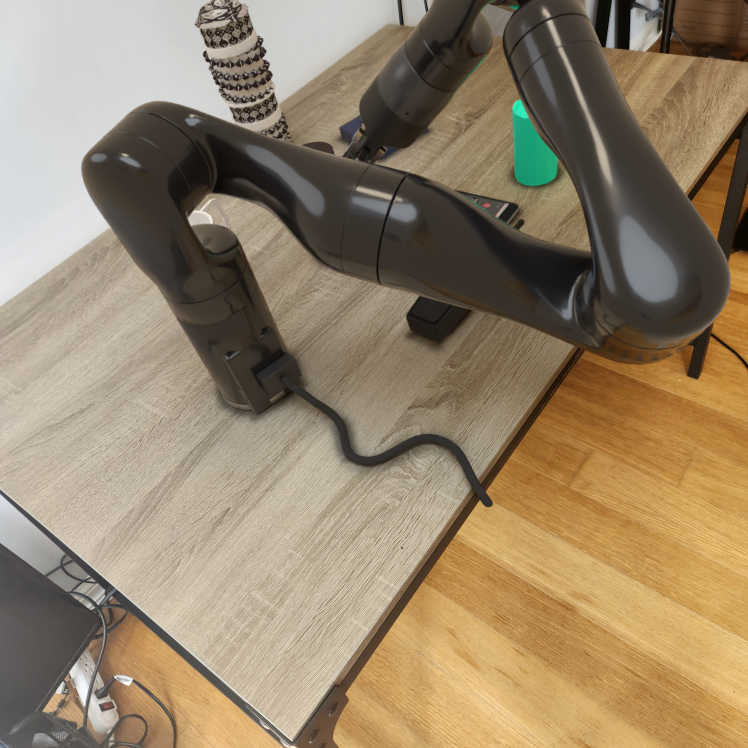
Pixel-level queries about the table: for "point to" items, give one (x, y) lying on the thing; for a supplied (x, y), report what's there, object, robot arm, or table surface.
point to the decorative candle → (241, 67)
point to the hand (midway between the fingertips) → (338, 180)
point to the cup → (204, 217)
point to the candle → (531, 151)
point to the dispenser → (353, 126)
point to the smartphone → (494, 206)
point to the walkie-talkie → (436, 315)
